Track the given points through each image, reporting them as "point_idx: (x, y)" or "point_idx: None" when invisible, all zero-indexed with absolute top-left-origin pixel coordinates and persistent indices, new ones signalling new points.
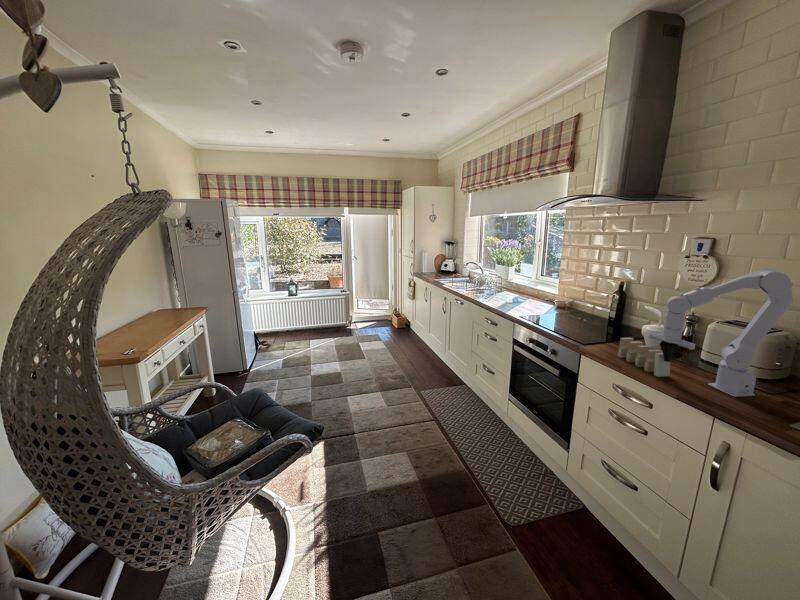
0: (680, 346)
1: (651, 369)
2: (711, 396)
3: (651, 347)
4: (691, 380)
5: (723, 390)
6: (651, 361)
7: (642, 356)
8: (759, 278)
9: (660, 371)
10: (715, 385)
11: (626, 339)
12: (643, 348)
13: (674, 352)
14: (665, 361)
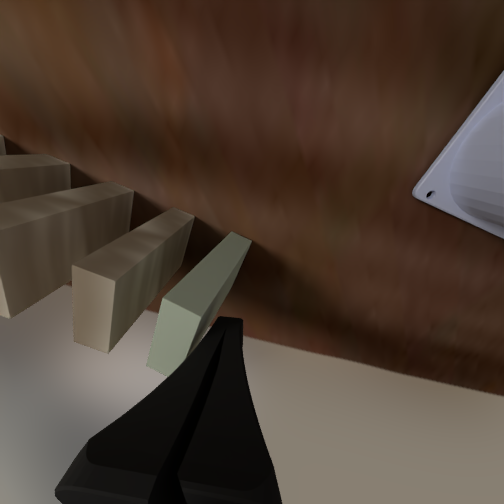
0: (278, 501)
1: (180, 257)
2: (429, 306)
3: (5, 234)
4: (333, 200)
5: (487, 225)
6: (156, 288)
7: (82, 257)
8: None
9: (227, 291)
10: (452, 193)
11: None
12: (23, 292)
13: (242, 388)
14: (215, 306)
